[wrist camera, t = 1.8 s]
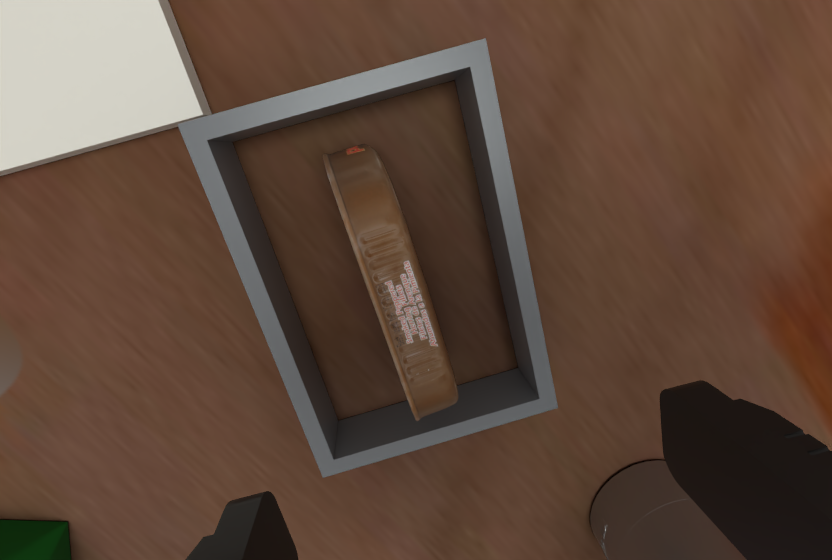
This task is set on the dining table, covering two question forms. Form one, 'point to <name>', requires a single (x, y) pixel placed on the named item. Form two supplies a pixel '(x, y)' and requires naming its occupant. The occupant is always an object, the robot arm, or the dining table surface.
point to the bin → (271, 298)
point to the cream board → (89, 77)
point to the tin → (393, 277)
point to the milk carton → (34, 540)
